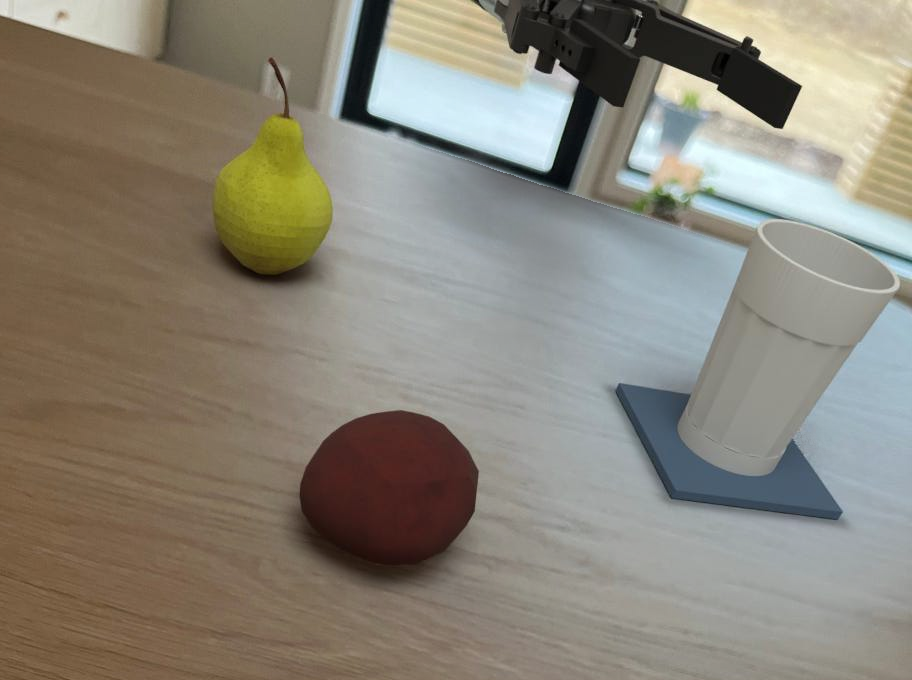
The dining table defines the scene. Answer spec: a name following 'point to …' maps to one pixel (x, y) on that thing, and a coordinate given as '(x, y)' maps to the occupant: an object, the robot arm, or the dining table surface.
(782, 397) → the cup
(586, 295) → the dining table surface
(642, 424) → the mat
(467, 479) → the potato
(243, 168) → the fruit
